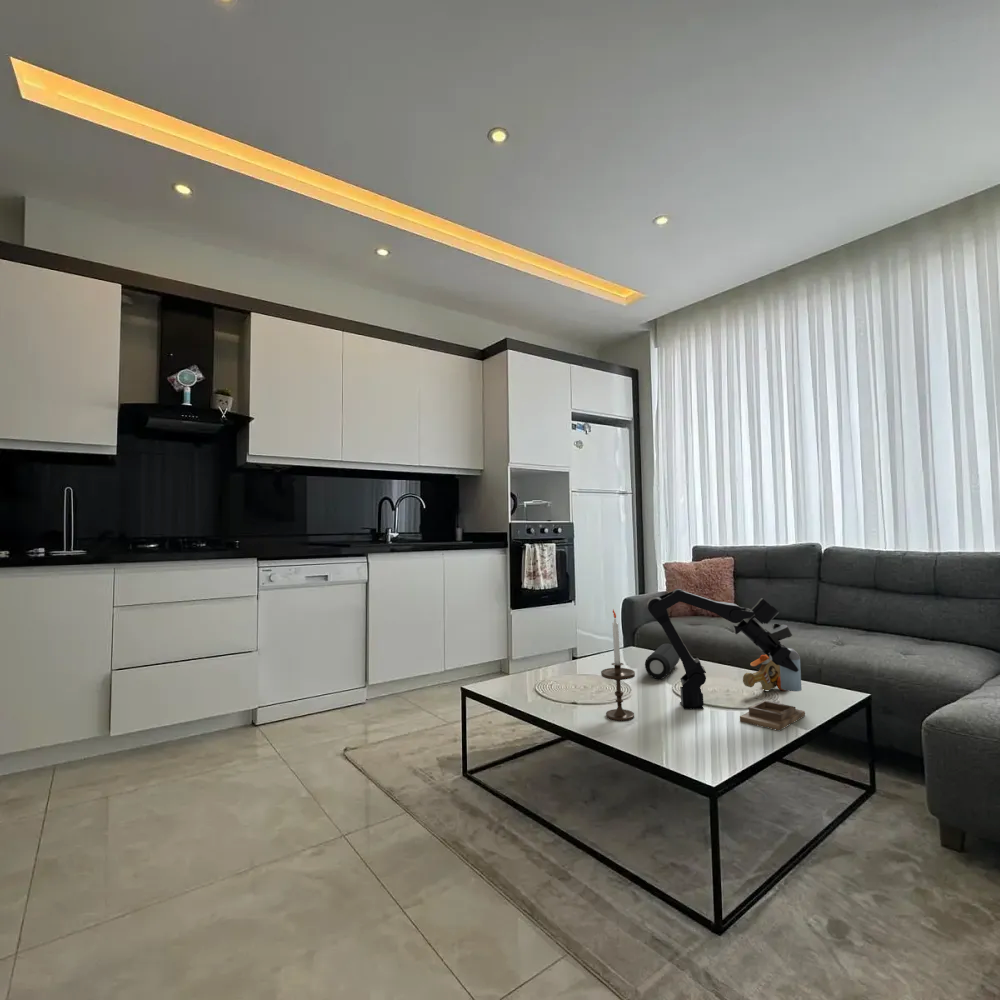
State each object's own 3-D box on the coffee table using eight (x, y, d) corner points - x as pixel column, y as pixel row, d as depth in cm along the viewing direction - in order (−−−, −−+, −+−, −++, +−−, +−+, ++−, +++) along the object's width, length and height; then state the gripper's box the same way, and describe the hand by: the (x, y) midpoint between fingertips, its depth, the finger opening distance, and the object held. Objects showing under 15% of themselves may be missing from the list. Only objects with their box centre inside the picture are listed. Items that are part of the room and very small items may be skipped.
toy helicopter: (790, 688, 203) (788, 651, 204) (757, 700, 192) (754, 660, 193) (769, 684, 210) (767, 647, 211) (736, 695, 199) (733, 656, 199)
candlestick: (597, 714, 185) (591, 608, 187) (624, 709, 189) (619, 605, 191) (614, 724, 175) (609, 612, 177) (643, 718, 179) (638, 609, 180)
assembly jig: (779, 731, 164) (778, 719, 164) (740, 721, 173) (739, 709, 174) (805, 715, 176) (804, 704, 176) (766, 707, 185) (766, 696, 185)
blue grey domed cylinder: (784, 691, 179) (782, 650, 180) (778, 685, 185) (776, 646, 186) (804, 691, 178) (802, 650, 179) (797, 686, 184) (795, 646, 185)
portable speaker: (658, 664, 246) (657, 641, 246) (681, 666, 241) (680, 642, 242) (644, 679, 224) (642, 654, 224) (669, 681, 219) (667, 656, 219)
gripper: (782, 621, 174) (822, 658, 172) (767, 612, 193) (803, 644, 190) (756, 646, 176) (796, 683, 173) (744, 634, 194) (780, 667, 191)
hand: (794, 668), depth 182 cm, fingers closed on blue grey domed cylinder, 6 cm apart
